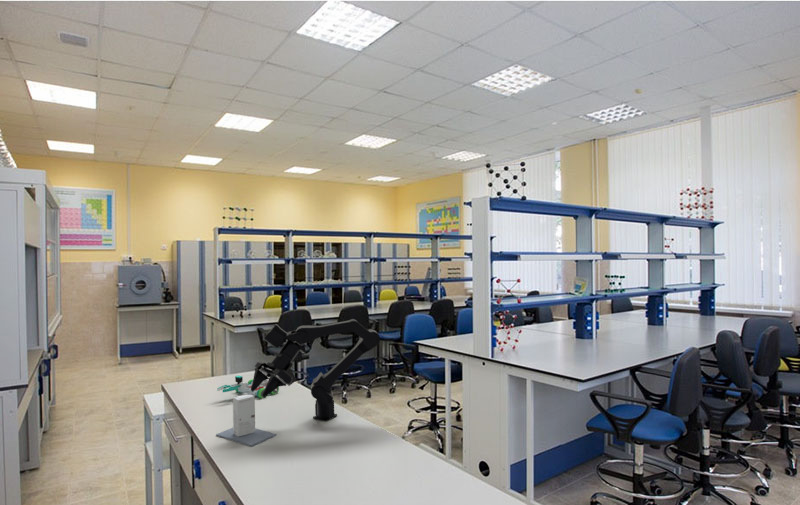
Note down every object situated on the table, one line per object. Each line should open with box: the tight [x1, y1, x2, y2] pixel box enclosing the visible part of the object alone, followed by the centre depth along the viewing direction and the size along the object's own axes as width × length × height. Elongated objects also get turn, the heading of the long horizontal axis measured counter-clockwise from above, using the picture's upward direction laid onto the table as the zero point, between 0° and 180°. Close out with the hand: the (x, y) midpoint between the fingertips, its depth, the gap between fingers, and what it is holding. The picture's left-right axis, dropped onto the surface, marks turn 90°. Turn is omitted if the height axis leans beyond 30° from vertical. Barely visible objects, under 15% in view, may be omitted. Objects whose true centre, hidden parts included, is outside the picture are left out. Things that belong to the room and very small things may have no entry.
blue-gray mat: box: [215, 427, 277, 447], centre depth 148 cm, size 18×10×1 cm, turn 57°
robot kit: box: [217, 375, 280, 399], centre depth 193 cm, size 19×25×9 cm
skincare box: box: [232, 393, 256, 437], centre depth 149 cm, size 6×4×12 cm
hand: (257, 393), depth 152 cm, fingers open, 9 cm apart
